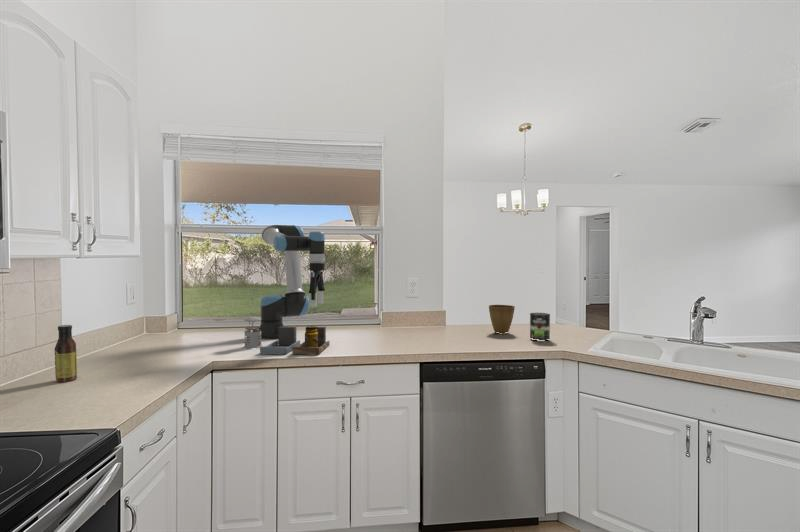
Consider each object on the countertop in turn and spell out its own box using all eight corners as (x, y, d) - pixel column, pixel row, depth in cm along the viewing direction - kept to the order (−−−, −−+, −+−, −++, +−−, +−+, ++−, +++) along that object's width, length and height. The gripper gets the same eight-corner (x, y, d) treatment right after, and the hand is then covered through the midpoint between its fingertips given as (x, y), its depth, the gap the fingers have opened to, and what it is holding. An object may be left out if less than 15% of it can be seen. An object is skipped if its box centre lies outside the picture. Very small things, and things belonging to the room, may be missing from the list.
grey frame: (277, 344, 219) (276, 326, 219) (300, 344, 218) (300, 326, 218) (260, 353, 197) (260, 333, 197) (286, 354, 196) (285, 334, 196)
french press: (243, 350, 207) (243, 298, 207) (240, 345, 217) (240, 296, 217) (265, 348, 212) (264, 297, 211) (260, 344, 222) (260, 295, 222)
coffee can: (549, 342, 227) (549, 315, 226) (528, 340, 230) (529, 314, 230) (550, 338, 236) (550, 313, 236) (530, 337, 240) (530, 312, 240)
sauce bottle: (63, 378, 158) (62, 324, 158) (81, 377, 159) (80, 323, 159) (50, 383, 152) (49, 326, 152) (69, 382, 152) (68, 326, 152)
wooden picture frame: (306, 344, 218) (306, 326, 218) (329, 344, 217) (329, 326, 217) (292, 354, 196) (292, 334, 196) (318, 354, 195) (318, 334, 195)
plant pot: (484, 333, 252) (484, 306, 252) (494, 330, 265) (494, 304, 264) (509, 336, 244) (509, 307, 244) (518, 332, 256) (518, 305, 256)
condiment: (321, 352, 201) (320, 327, 201) (303, 355, 197) (303, 328, 197) (314, 350, 207) (314, 325, 207) (297, 352, 203) (297, 326, 203)
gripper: (318, 262, 203) (318, 307, 203) (329, 262, 228) (330, 302, 228) (302, 262, 203) (302, 307, 204) (315, 262, 228) (316, 302, 228)
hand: (317, 305), depth 216 cm, fingers open, 13 cm apart
